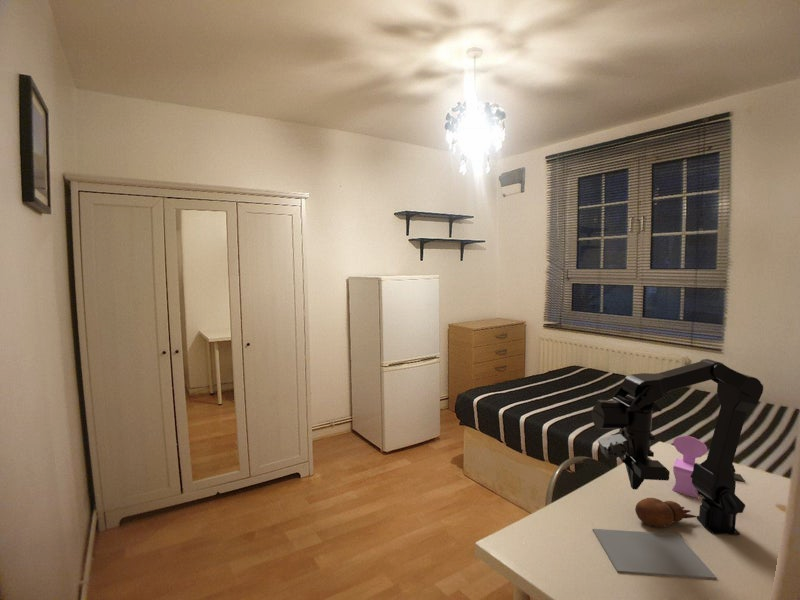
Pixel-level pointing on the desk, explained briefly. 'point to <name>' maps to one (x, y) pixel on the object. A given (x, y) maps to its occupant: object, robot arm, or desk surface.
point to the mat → (651, 554)
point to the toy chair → (686, 463)
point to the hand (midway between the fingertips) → (634, 488)
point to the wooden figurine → (660, 512)
